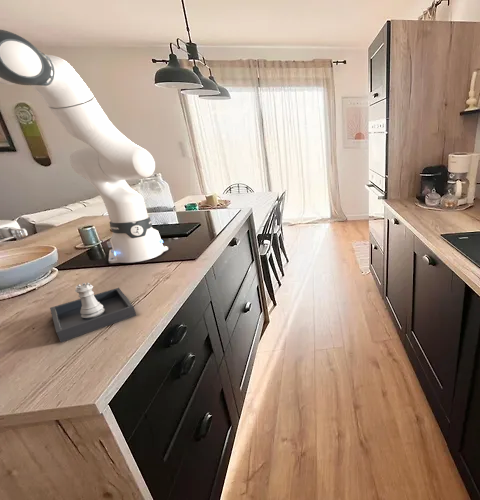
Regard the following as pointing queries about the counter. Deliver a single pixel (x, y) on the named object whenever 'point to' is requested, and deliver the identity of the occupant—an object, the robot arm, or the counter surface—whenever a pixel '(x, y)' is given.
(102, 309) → the rook chess piece
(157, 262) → the counter surface
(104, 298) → the tray
